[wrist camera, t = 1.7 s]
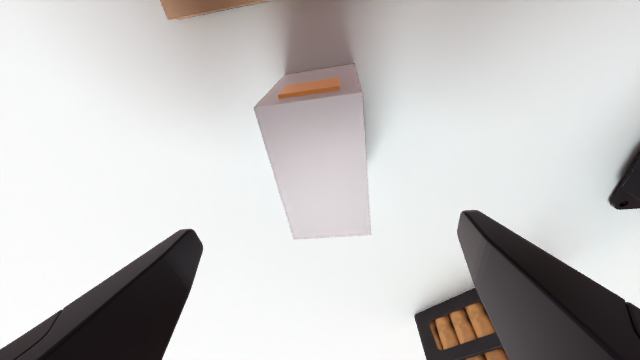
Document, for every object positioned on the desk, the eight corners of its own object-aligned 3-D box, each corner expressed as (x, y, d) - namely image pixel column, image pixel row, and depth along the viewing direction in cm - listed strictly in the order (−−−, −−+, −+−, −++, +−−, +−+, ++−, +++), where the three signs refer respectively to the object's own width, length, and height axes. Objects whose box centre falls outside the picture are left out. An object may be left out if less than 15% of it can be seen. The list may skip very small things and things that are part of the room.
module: (354, 60, 14) (361, 87, 9) (362, 170, 18) (371, 234, 12) (284, 71, 14) (252, 103, 9) (307, 175, 18) (293, 239, 13)
